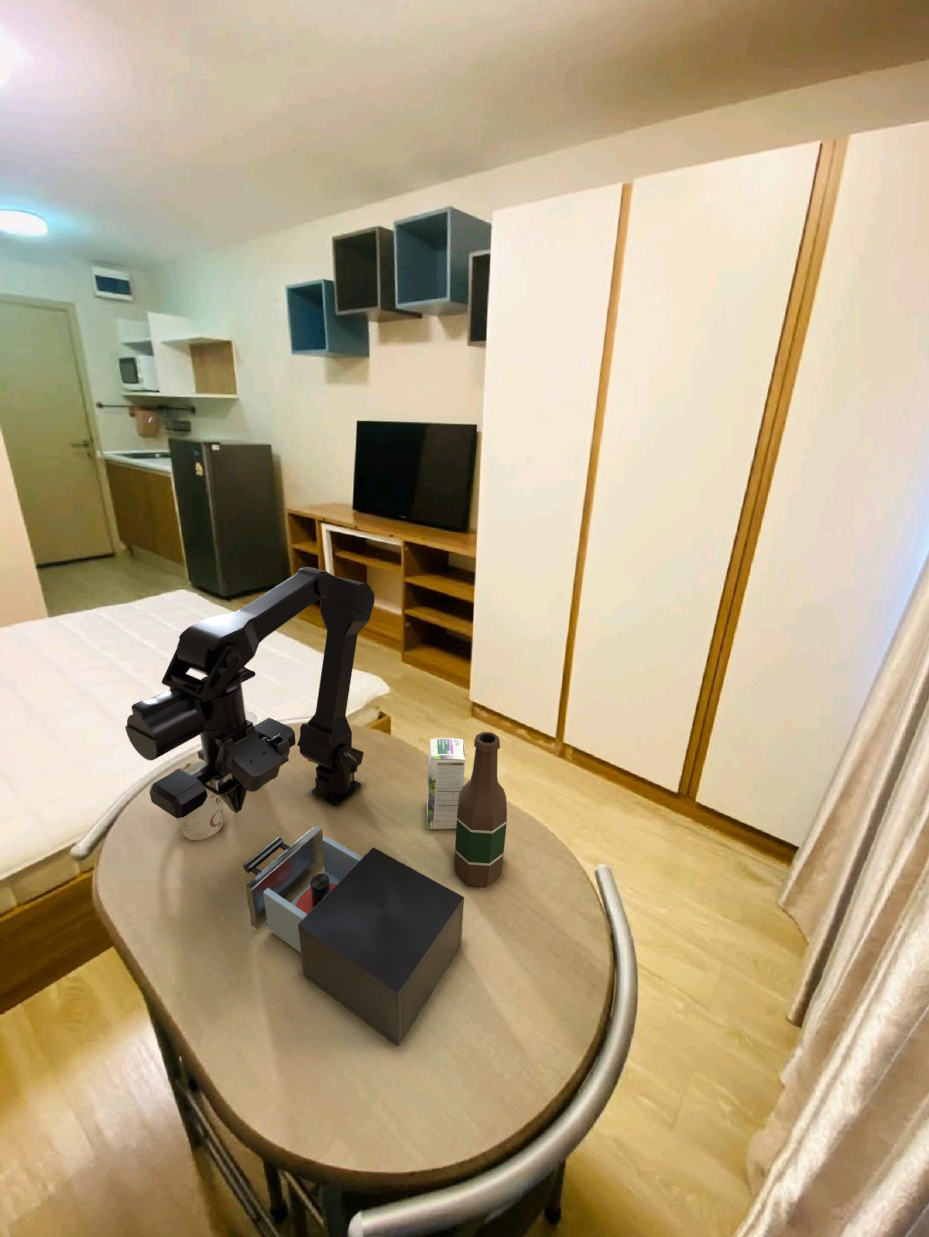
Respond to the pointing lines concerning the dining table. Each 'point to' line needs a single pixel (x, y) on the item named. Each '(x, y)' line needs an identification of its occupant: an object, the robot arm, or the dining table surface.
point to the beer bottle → (481, 818)
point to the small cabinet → (382, 941)
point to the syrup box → (445, 782)
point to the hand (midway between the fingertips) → (236, 810)
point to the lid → (314, 893)
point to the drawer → (292, 880)
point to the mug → (202, 812)
